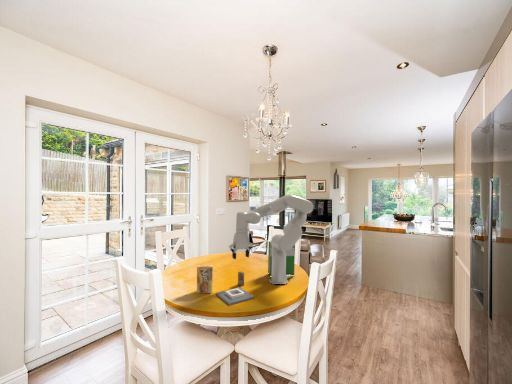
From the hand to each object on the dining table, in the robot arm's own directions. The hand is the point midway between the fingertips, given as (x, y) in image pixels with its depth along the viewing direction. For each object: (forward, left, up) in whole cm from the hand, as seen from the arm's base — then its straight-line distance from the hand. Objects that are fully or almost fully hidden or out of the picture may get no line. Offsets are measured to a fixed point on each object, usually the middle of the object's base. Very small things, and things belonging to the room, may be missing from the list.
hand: (240, 257), depth 154 cm
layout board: (+12, +13, -17) cm, 25 cm away
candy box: (+24, -2, -18) cm, 30 cm away
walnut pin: (0, 0, -18) cm, 18 cm away
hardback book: (-34, 0, -18) cm, 39 cm away
